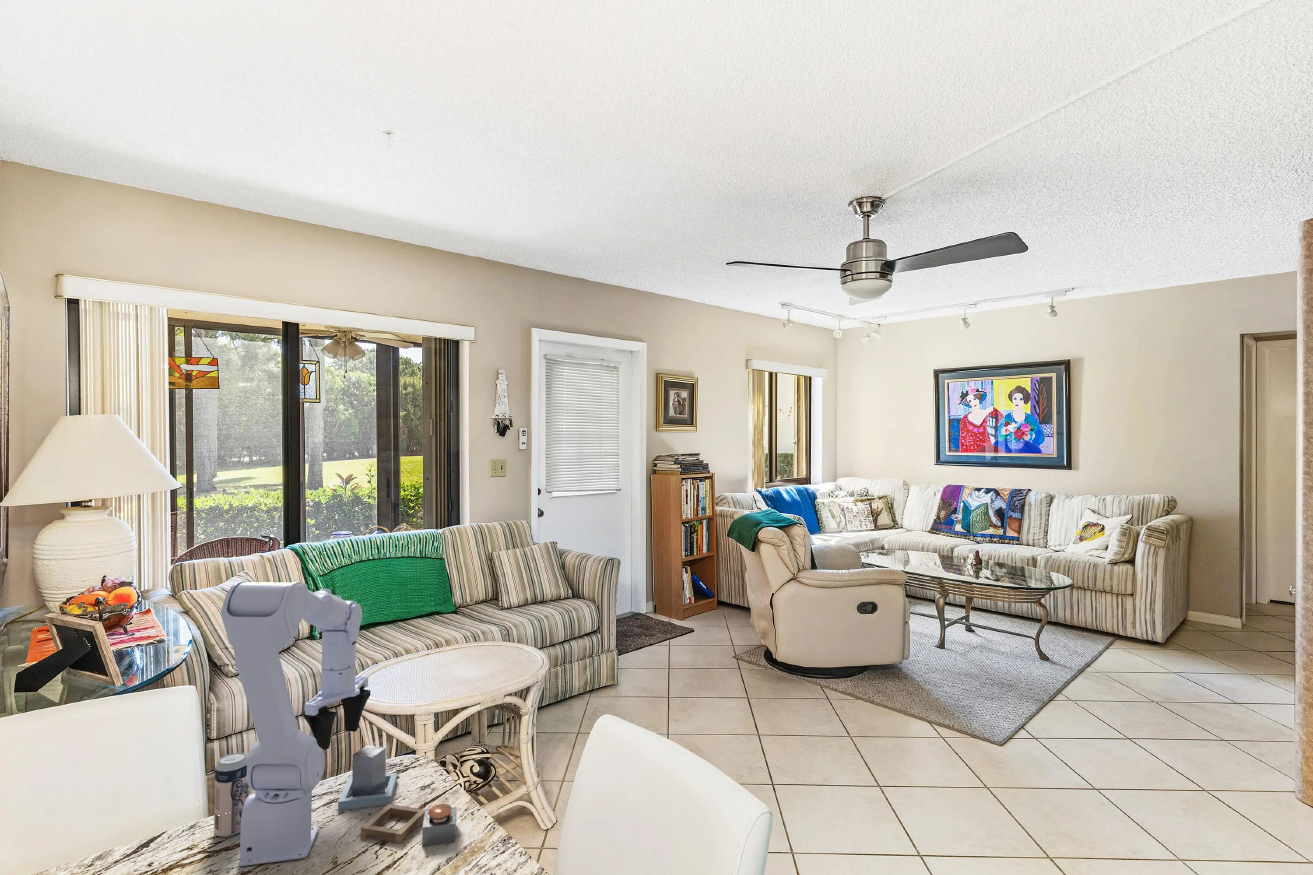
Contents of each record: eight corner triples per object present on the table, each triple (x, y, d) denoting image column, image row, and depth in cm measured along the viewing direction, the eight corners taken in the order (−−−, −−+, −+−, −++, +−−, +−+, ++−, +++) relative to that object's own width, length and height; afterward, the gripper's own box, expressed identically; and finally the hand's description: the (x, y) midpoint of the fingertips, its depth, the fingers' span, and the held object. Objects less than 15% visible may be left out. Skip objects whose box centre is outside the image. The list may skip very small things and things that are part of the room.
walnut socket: (400, 843, 107) (401, 834, 107) (360, 836, 109) (360, 827, 109) (426, 818, 114) (426, 809, 114) (388, 812, 116) (388, 803, 116)
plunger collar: (422, 846, 106) (422, 827, 107) (425, 828, 111) (425, 810, 111) (454, 842, 108) (455, 823, 108) (456, 824, 113) (456, 807, 113)
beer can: (242, 837, 108) (243, 763, 108) (208, 841, 107) (210, 766, 107) (252, 821, 113) (253, 750, 113) (221, 824, 112) (222, 752, 112)
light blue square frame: (338, 810, 117) (338, 801, 117) (348, 785, 125) (348, 777, 125) (390, 804, 119) (390, 795, 119) (397, 780, 127) (397, 772, 127)
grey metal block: (371, 802, 119) (372, 757, 119) (352, 799, 120) (352, 754, 120) (385, 790, 123) (385, 747, 123) (366, 788, 124) (366, 745, 124)
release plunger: (427, 838, 107) (427, 817, 107) (429, 826, 111) (429, 805, 111) (450, 836, 108) (450, 814, 108) (451, 823, 112) (452, 802, 112)
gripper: (329, 681, 115) (328, 759, 115) (382, 655, 130) (381, 725, 130) (295, 677, 117) (294, 755, 117) (350, 652, 131) (349, 721, 131)
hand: (337, 739), depth 123 cm, fingers open, 7 cm apart
